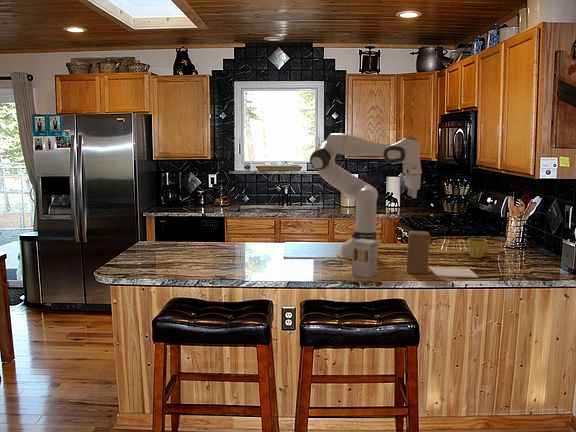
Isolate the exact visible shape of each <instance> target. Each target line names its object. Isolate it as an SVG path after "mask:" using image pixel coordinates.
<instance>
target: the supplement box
mask: <svg viewBox="0 0 576 432" xmlns="http://www.w3.org/2000/svg"><path fill="white" fill-rule="evenodd" d="M378 256H379V240H376V241H375V240H368V239H358V240H355V241H353V256H352V259H351V261H352V262H351V276H356V277H361V278H365V279H368V278H373V277H374V276H377V275H378V273H377V272H378Z"/></svg>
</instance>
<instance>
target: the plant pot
mask: <svg viewBox="0 0 576 432" xmlns="http://www.w3.org/2000/svg"><path fill="white" fill-rule="evenodd" d="M467 245H468V248H469V249H468V250H469V256H470V257H471V258H477V259H481V258H483V257H484V253H485V249H486V247H488V240H487V239H485V238H478V237H470V238H467Z"/></svg>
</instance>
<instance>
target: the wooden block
mask: <svg viewBox="0 0 576 432" xmlns="http://www.w3.org/2000/svg"><path fill="white" fill-rule="evenodd" d="M430 237H431V235H430V233H429V231H424V230H422V231H421V230H410V231H408V241H407V255H406V273H407V274H412V275H413V274H414V275H426V276H427V274H429V273H428V272H429V257H430V240H431V239H430Z"/></svg>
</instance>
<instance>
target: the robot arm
mask: <svg viewBox="0 0 576 432" xmlns="http://www.w3.org/2000/svg"><path fill="white" fill-rule="evenodd" d="M338 155H341V156H348V157H360V156H366V155H374V156H379V157H383V159H384V160H385V161H386V162H387V163H388V164H391V165H393V164H394V165H395V164H402V174H404V186H405V187H406V188H407V192H408V195H407V196H409V197H411V198H412V199H417V198H418V197H417V194H418V190H420V189H421V180H422V179H421V177H422V174H423V171H422V164H421V162H422V161H421V144H420V141H419V139H418V138H416V137H408V136H406V137H404V138H402V139H401V140H399V141H397V142H396V143H393V144H385V143H378V142H373V141H371V140H367V139H365V138H363V137H359V136H356V135H353V134H348V133H339V132H338V133H335V132H334V133H330V134H329V135H328V136H327V138H326V139H325V140H323V141H321V143H320V144H318V146H317V147H316V148H315V150H314V151H313V152H312V153H311V155H310V157H309V163H310V165H311V167H313V169H315V170H317V171H318V175H319V176H320V177H321V178H322V179H323V180H324V181H326V183H328V184H329V185H331V186H332V187H333V188H335V189H336V190H338V191H339V192H341V193H343V194H344V195H347V196H349V197H350V198H352V199H354V200H355V230H350V234H351V237H350V238H349V239H347V240H346V241H345V242H343V243H342V244H341V247H340V251H338V252H336V257H337V258H340V259H345V260H346V259H347V260H348V259H349V260H352V256H353V241H355V240H358V239H368V240H375V241H377V200H378V198H379V193H378V190H377V189H376V187H374V186H372V184H369V183H367V182H366V181H364V180H362V179H360V178H359V177H356V176H355V175H353V174H352V173H350V172H349V171H347V170H346V169H344V168H343V167H341V166H339V165H338V164H337V162H336V160H338Z"/></svg>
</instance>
